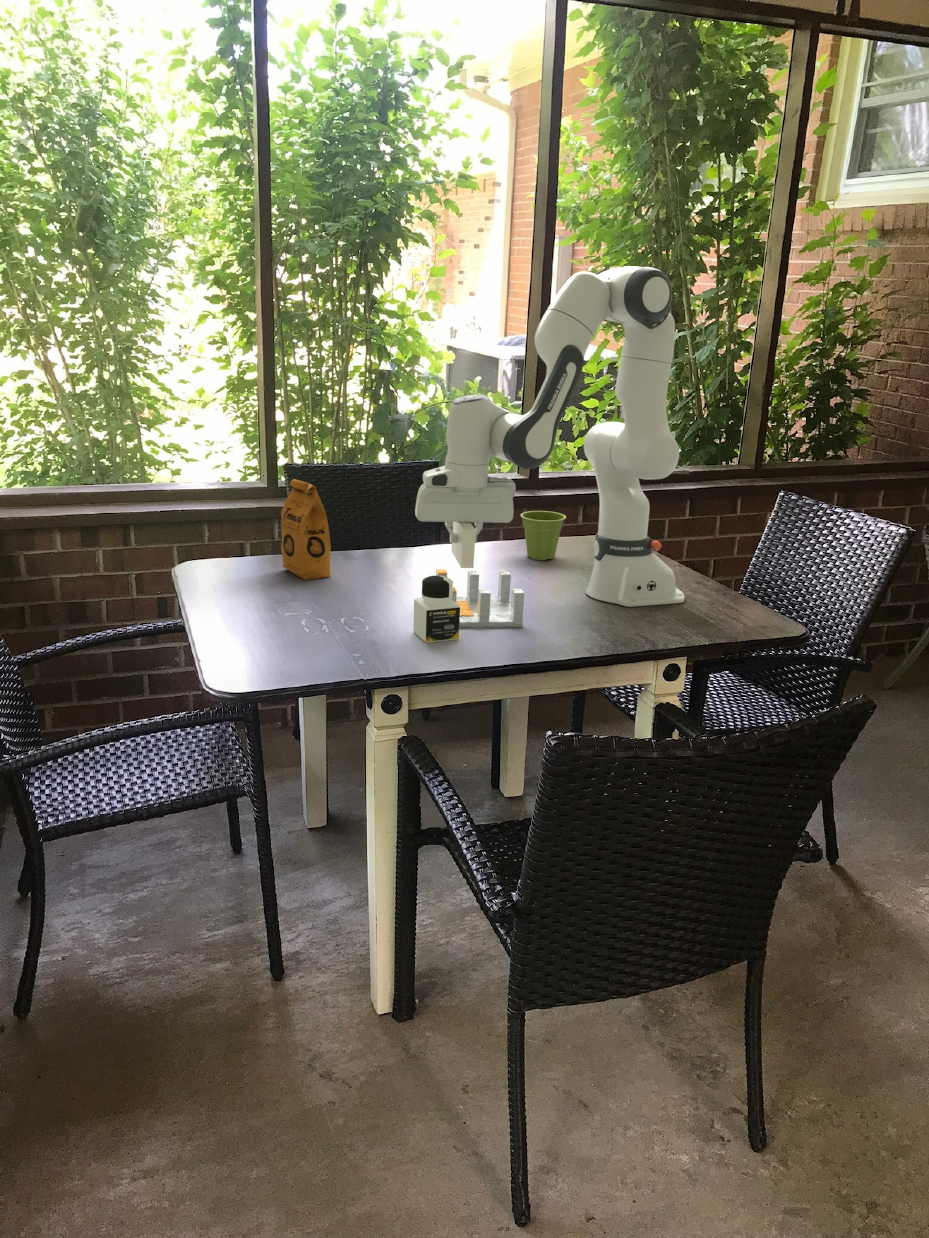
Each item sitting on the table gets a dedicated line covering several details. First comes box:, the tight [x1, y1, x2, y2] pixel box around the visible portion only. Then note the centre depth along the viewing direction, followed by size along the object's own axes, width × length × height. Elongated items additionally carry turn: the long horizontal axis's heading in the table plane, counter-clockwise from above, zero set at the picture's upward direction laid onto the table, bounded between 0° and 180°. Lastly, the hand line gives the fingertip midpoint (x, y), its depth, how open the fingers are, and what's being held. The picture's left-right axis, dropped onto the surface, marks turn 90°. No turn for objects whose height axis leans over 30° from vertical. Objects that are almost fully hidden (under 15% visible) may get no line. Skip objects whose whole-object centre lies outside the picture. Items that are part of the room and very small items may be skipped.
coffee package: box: [280, 478, 332, 581], centre depth 228 cm, size 10×12×22 cm
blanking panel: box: [451, 522, 476, 569], centre depth 200 cm, size 2×14×8 cm, turn 9°
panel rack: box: [435, 568, 525, 629], centre depth 205 cm, size 16×18×8 cm
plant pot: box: [520, 510, 567, 561], centre depth 253 cm, size 12×12×11 cm
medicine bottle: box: [412, 575, 460, 644], centre depth 190 cm, size 7×7×12 cm
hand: (462, 542), depth 200 cm, fingers closed on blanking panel, 2 cm apart
